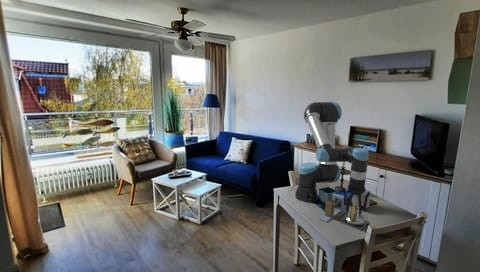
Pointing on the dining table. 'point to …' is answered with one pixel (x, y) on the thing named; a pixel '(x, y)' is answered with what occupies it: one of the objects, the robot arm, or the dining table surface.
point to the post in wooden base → (331, 206)
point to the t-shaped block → (336, 209)
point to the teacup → (356, 202)
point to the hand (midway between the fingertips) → (353, 218)
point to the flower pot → (326, 193)
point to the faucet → (354, 216)
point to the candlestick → (343, 172)
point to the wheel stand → (354, 225)
